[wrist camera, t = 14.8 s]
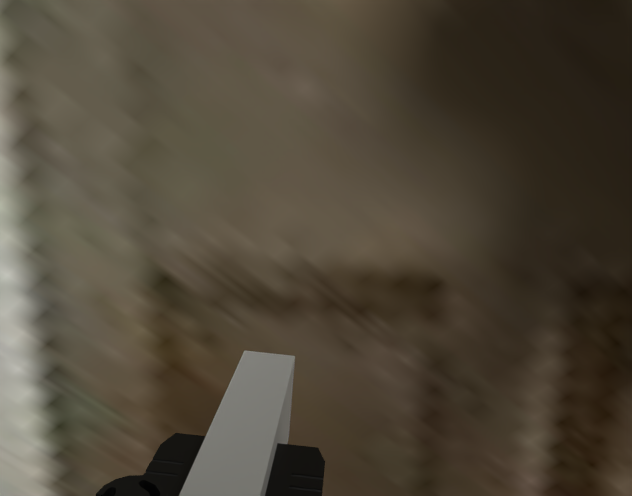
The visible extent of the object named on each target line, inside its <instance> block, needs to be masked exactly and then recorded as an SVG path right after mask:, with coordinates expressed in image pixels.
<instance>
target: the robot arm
mask: <svg viewBox="0 0 632 496" xmlns="http://www.w3.org/2000/svg"><path fill="white" fill-rule="evenodd" d="M294 363H295V356H291V355H281V354H272V353H263V352H253V351H244V353H243V355H242V357H241V359H240V362H239V364H238V366H237V368H236V370H235V373H234V375H233V377H232V379H231V382H230V384H229V386H228V388H227V390H226V393H225V395H224V397H223V399H222V401H221V404H220V406H219V408H218V410H217V413H216V415H215V417H214V419H213V421H212V424H211V426H210V428H209V430H208V432H207V435H206V436H198V435H189V434H180V433H175V434H174V435H173V436H171V437H170V438H169V439H167V440H166V441H165V442H163V443H162V444H161V445H160V447H159V448H158V450H157V452H156V454H155V455H154V457H153V460H152V461H151V462H150V464H149V466H148V468H147V469H146V473H144V475H140V476H126V477H123V478H119V479H115V480H114V481H112V482H110V483H108V484H106V485H104V486H103V487H102V488H101V489H100V490H99V491H98V492H97V493H96V496H322V487H323V477H324V467H325V461H324V459H323V457H322V455H321V453H320V451H319V449H318V448H315V447H306V446H298V445H289V444H288V439H289V428H290V415H291V402H292V389H293V376H294Z"/></svg>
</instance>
